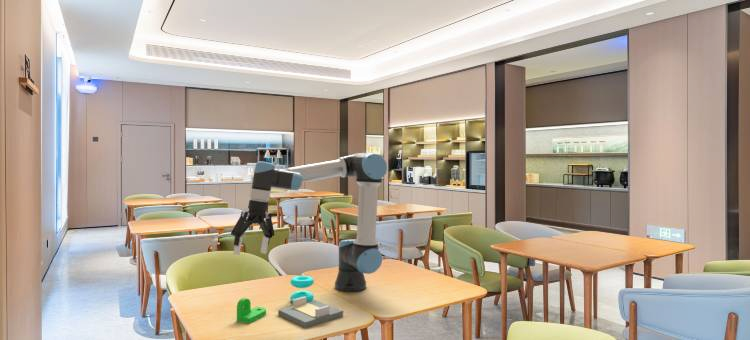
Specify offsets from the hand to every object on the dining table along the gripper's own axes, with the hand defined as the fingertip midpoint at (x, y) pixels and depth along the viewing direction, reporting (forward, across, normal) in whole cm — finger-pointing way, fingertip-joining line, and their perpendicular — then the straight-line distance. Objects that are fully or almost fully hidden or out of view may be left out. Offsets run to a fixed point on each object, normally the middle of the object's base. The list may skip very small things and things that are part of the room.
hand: (250, 253), depth 175 cm
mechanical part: (+24, -2, +6) cm, 25 cm away
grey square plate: (+20, -16, +22) cm, 34 cm away
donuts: (+20, -27, +7) cm, 34 cm away
